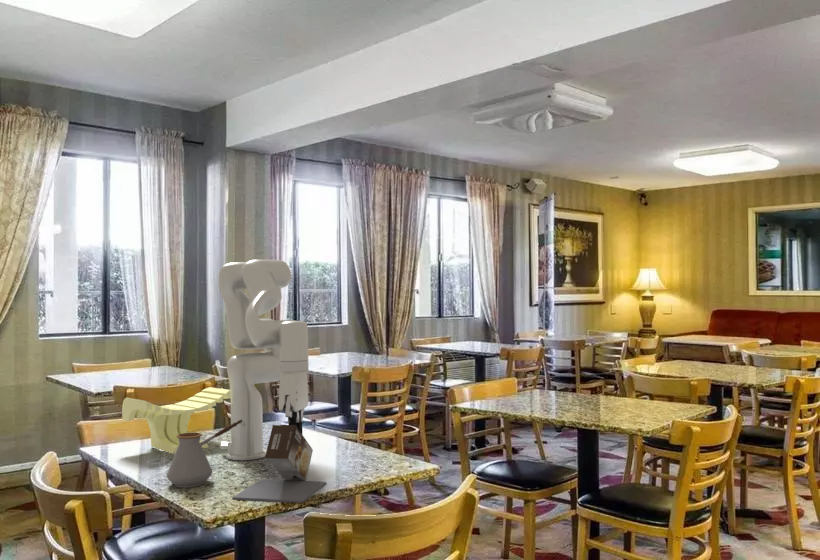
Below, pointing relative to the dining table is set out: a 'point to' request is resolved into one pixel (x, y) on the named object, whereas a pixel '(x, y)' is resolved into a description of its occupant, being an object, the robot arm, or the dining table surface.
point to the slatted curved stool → (171, 416)
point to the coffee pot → (192, 459)
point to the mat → (280, 490)
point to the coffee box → (289, 452)
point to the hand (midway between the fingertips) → (295, 436)
